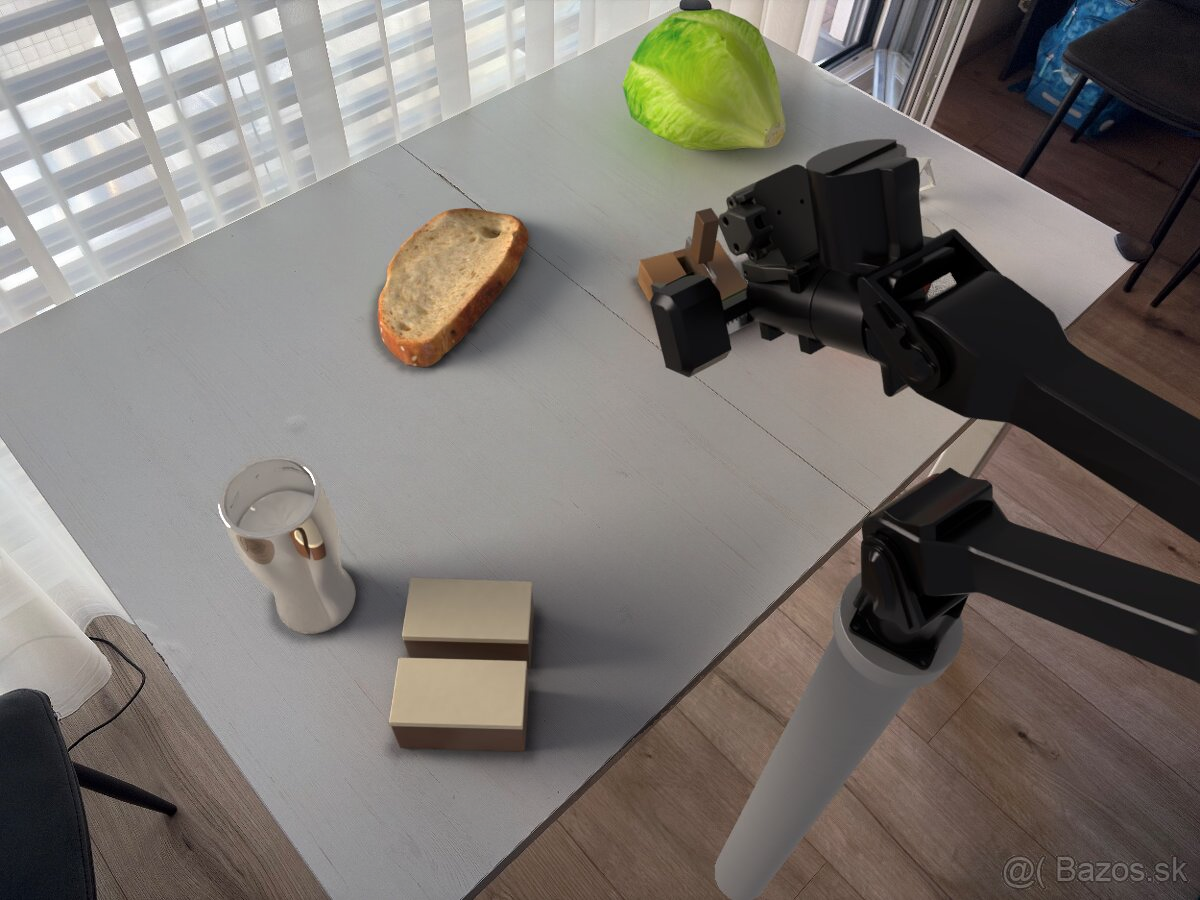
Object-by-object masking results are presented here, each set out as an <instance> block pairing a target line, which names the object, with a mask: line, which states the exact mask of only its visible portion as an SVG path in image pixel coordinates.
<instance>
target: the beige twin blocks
mask: <svg viewBox="0 0 1200 900" xmlns="http://www.w3.org/2000/svg"><path fill="white" fill-rule="evenodd" d="M409 579H410V580H409V588H408V592H407V593H408V595H407V599H406V606H405V607H406V608H405V614H404V615H405V616H404V620H403V627H402V634H401V637H402V640H403V643H404V646H405V650H406V652H407V655H408V657H398V660H397V668H396V674H395V681H394V687H393V693H392V694H393V695H392V701H391V708H390V714H389V719H388V720H389V721H388V723H389V726H390V727H391V729H392V732H393V735H394V737H395V739H396V741H397V742H396V743H397V744H398V746H399V748H400V749H419V750H421V749H422V750H452V751H453V750H454V751H455V750H456V751H457V750H459V751H460V750H461V751H493V752H494V751H495V752H526V744H527V729H528V728H527V727H528V714H529V713H528V712H529V696H530V684H529V672H528V670H530V669H531V666H532V651H533V649H532V648H533V634H534V633H533V632H534V620H535V619H534V617H535V610H534V609H535V608H534V593H533V591H534V590H533V582H532V581H528V580H527V581H526V580H525V581H523V580H490V579H456V578H454V579H453V578H423V577H422V578H419V577H418V578H417V577H412V578H409Z"/></svg>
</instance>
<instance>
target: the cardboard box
mask: <svg viewBox="0 0 1200 900" xmlns="http://www.w3.org/2000/svg"><path fill="white" fill-rule="evenodd" d="M684 253H685V248H682V249H679V250H675V251H671V252H666V253H663V254H659V255H655V256H650V257H646V258H643V259H640V260H639V261H638V263H639V264H638V274H637V275H638V276H637V283H638V285H639V287H640V288H641V290H642V292H643V293H644V295H645V297H646V299H647V300H648V303H650V301H651V298H652V296H653V293H652V289H651V285H652V284H654V283H670V282H672V281H674V280H676V279H678V278H680V277H682V276H684V275H686V273H685V271H684V270H683V261H684ZM707 263H708V265H709V266H710V268H711V269H712V271H713V272H714V274H715V275H716V277H717V279H716V285H715V286H716V287H717V288H718V290H719V291H720V295H721V299H724V298H726V297H728V296H730V295H732V294H734V293H736V292H738V291H740V290H742V289H744V288H746V287H747V283H748V282H746V280H745V278H744V276H742V274H741V273H740V271H739V270H738V268H737V266H736V265H735V263H734V262H733V261H732V259H731V258H730V256H729V255H728V254H727V252H726V250H725V248H724V247H723V246H722V244H721V243H720V241H719V240H717V239H716V244H715V250H714V256H713V261H710V262H707Z"/></svg>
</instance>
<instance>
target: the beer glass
mask: <svg viewBox="0 0 1200 900" xmlns="http://www.w3.org/2000/svg"><path fill="white" fill-rule="evenodd" d="M218 511H219V514H220V517H221V519H222V521H223V523H224V526H225V529H226V531H227V534H228V537H229V539H230V542H231V543H232V545H233V548H234V550H235V552H236V554H237V555H238V556H239V558H240V560H241V561H242V563H243V565H244V566H245V567H246V568H247V569H248V570H249V571H250V573H251V574H252V575H253V576H254V577H255V578H256V579H257V580H258V581H259V582H260V583H261V584H262V585H263V586H265V588H267V589H268V590H269V591H270V592H271V593H272V594H273V595H274V601H275V607H276V611H277V614H278V617H279V618H280V620H281V621H282V623H283V624H284V625H285V626H286V627H287V628H289V629H290V630H292V631H294V632H296V633H299V634H304V635H316V634H321V633H326V632H328V631H330V630H332V629H334V628H337V626H339V625H340V624H341V623H343V622H344V621H345V620H346V619H347V617H348V616H349V615H350V614H351V612H352V610H353V608H354V605H355V603H356V596H357V595H356V594H357V593H356V592H357V591H356V586H355V583H354V580H353V579H352V577H351V575H350V574H349V573H348V572H347V571H346V570H345V569H344V567H342V564H341V546H340V545H341V543H340V534H339V525H338V522H337V519H336V516H335V512H334V508H333V506H332V504H331V502H330V499H329V498H328V495H327V493H326V491H325V490H324V488H323V486H322V484H321V482H320V480H319V478H318V475H317V473H316V472H315V471H314V469H313V468H312V467H311V465H309V464H308V463H306V462H305V461H304V460H302V459H299V458H297V457H295V456H290V455H284V454H283V455H282V454H273V455H265V456H261V457H258V458H255V459H252V460H250V461H247V462H246V463H244V464H243V465H241V466H239V468H237V469H236V470H234V471H233V472H232V473H231V475H229V477H228V478H227V479H226V481H225V482H224V484H223V485H222V487H221V489H220V492H219V497H218Z"/></svg>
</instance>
